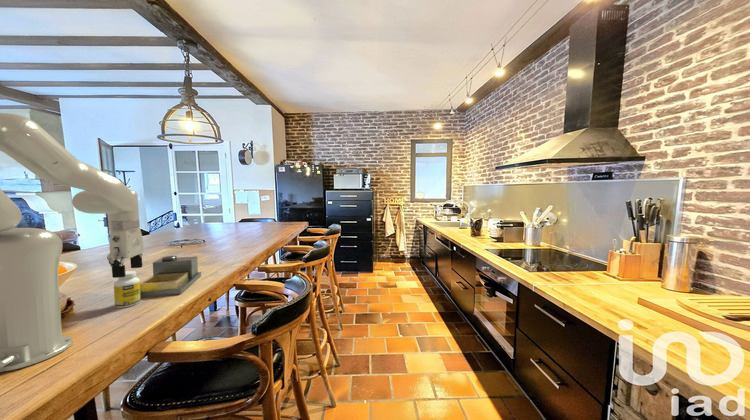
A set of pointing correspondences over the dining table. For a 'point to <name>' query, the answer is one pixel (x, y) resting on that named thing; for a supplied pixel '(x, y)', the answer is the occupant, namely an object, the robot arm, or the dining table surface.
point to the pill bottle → (127, 290)
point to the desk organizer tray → (170, 276)
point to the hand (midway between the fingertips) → (128, 272)
